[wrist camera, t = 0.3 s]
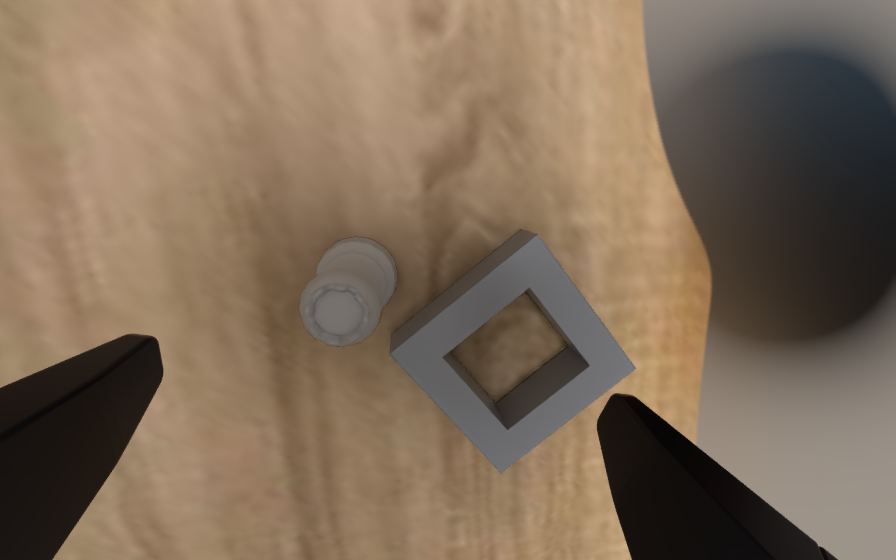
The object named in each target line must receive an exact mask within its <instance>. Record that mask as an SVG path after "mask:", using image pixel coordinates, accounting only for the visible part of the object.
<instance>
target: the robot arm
mask: <svg viewBox="0 0 896 560" xmlns="http://www.w3.org/2000/svg"><path fill="white" fill-rule="evenodd" d="M162 378H163V364H162V359H161V353H160V348H159V343H158V340H157V339H156V338H155V337H153V336H149V335H140V334H127V335H124V336H121V337H119V338H117V339H114V340H112V341H110V342H107V343H105V344H103V345H100V346H98V347H96V348H93V349H91V350H88V351H86V352H84V353H81V354H79V355H77V356H74V357H72V358H70V359H67V360H65V361H63V362H60V363H58V364H55V365H53V366H51V367H48V368H46V369H44V370H41V371H39V372H37V373H34V374H32V375H29V376H27V377H25V378H22V379H20V380H18V381H15V382H13V383H11V384H8V385H6V386H4V387H1V388H0V560H52V559H53V558H54V556H55V555H56V553H57V552H58V550H59V549H60V547H61V546H62V545H63V543H64V542H65V540H66V539H67V537H68V536H69V534H70V533H71V531H72V530H73V528H74V527H75V525H76V524H77V522H78V521H79V519H80V518H81V516H82V515H83V513H84V512H85V511H86V509H87V508H88V506H89V505H90V503H91V502H92V500H93V499H94V497H95V496H96V494H97V493H98V491H99V490H100V488H101V487H102V485H103V484H104V482H105V481H106V479H107V478H108V477H109V475H110V473H111V472H112V470H113V469H114V467H115V466H116V464H117V463H118V461H119V459H120V457H121V456H122V454H123V452H124V450H125V449H126V447H127V445H128V443H129V441H130V439H131V438H132V436H133V434H134V432H135V430H136V428H137V426H138V424H139V423H140V421H141V419H142V417H143V415H144V413H145V411H146V410H147V408H148V406H149V404H150V402H151V400H152V398H153V396H154V395H155V393H156V391H157V389H158V387H159V385H160V383H161V381H162ZM597 432H598V436H599V441H600V445H601V450H602V454H603V459H604V463H605V468H606V472H607V477H608V481H609V486H610V490H611V494H612V498H613V502H614V505H615V508H616V512H617V515H618V518H619V521H620V524H621V527H622V530H623V534H624V537H625V540H626V543H627V546H628V549H629V552H630V555H631V558H632V560H838V559H836V558H835V557H834V556H833V555H831V554H830V553H829V552H828V551H826V550H825V549H824V548H822V547H819V546H818V544H817V543H816V542H815V541H814V540H813V539H811V538H810V537H809V536H808V535H806V534H805V533H804V532H803V531H801V530H800V529H799V528H798V527H796V526H795V525H794V524H793V523H792V522H790V521H789V520H788V519H787V518H785V517H784V516H783V515H782V514H780V513H779V512H778V511H776V510H775V509H774V508H773V507H772V506H770V505H769V504H768V503H766V502H765V501H764V500H763V499H762V498H760V497H759V496H758V495H757V494H755V493H754V492H753V491H752V490H750V489H749V488H748V487H747V486H746V485H744V484H743V483H741V482H740V481H739V480H738V479H737V478H736V477H734V476H733V475H732V474H731V473H729V472H728V471H727V470H726V469H724V468H723V467H722V466H721V465H719V464H718V463H717V462H715V461H714V460H713V459H712V458H711V457H709V456H708V455H707V454H706V453H704V452H703V451H702V450H701V449H699V448H698V447H697V446H696V445H695V444H693V443H692V442H691V441H690V440H688V439H687V438H686V437H685V436H683V435H682V434H681V433H680V432H678V431H677V430H676V429H675V428H673V427H672V426H671V425H670V424H668V423H667V422H666V421H665V420H663V419H662V418H661V417H660V416H658V415H657V414H656V413H655V412H654V411H652V410H651V409H650V408H649V407H647V406H646V405H645V404H644V403H642V402H641V401H640V400H639V399H637V398H636V397H635V396H633V395H628V394H620V393H615V394H613V395H612V396H611V397H610V398H609V400H608V402H607V404H606V405H605V407H604V409H603V411H602V412H601V414H600V416H599V418H598V421H597Z"/></svg>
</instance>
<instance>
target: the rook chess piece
mask: <svg viewBox="0 0 896 560" xmlns="http://www.w3.org/2000/svg"><path fill="white" fill-rule="evenodd" d="M397 277H398V273H397V269H396V265H395V261H394V259H393V258H392V256H391V255H390V254H389V252H388V251H387V250H386V248H385V247H383V246H382V245H380V244H378V243H377V242H375V241H373V240H372V239H367V238H360V237H352V238H348V239H343V240H340V241H338V242H337V243H335V244H334V245H333V246H331V247H330V248H329V249H327V251H326V252H325V254H324V256H323V257H322V259H321V261H320V262H319V264H318V266H317V274H316V277H315V278H314V279H312V280H311V281H309V282H308V284H307V285H306V287H305V289H304V291H303V292H302V294H301V296H300V305H299V313H300V316H301V319H302V322H303V325H304V327H305V328H306V329H307V331H308V332H309V333H310V334H311V335H312V337H313V338H314V339H318V340H320V341H322V342H324V343H325V344H327V346H336V347H340V346H342V347H345V346H349V345H353V344H357V343H360V342H361V341H362V340H364V339H365V338H367V337H368V336H369V335H371V334H372V332H373V331H374V329H375V327H376V326H377V324H378V323H379V320H380V313H381V308H383V307H384V306H385V305H387V303H388V301H389V300H390V298H391V297H392V295H393V293H394V291H395V289H396V283H397Z"/></svg>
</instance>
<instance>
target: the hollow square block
mask: <svg viewBox="0 0 896 560" xmlns="http://www.w3.org/2000/svg"><path fill="white" fill-rule="evenodd" d="M525 291H526V292H527V293H528V294H529V296H530V297H531V298H532V300H533V301H534V302H535V303H536V305H537V306H538V307H539V309H540V310H541V311H542V312H543V314H544V315H545V316H546V318H547V319H548V320H549V321H550V323H551V324H552V325H553V327H554V328H555V329H556V330H557V332H558V333H559V334H560V336H561V337H562V338H563V339H564V341H565V342H566V343H567V345H568V347H567V348H565V349H564V350H563V351H562V352H560V353H559V354H558V355H557V356H555V357H554V358H553V359H551V360H550V361H549V362H548V363H546V364H545V365H544V366H543V367H541V368H540V369H539V370H537V371H536V372H535V373H534V374H532V375H531V376H530V377H529V378H527V379H526V380H525V381H523V382H522V383H521V384H520V385H518V386H517V387H516V388H515V389H513V390H512V391H511V392H509V393H508V394H507V395H506V396H504V397H503V398H502V399H501V400H499V401H498V402H497V403H495V402H494V401H493V400H492V399H491V398H490V397H489V395H488V394H487V393H486V392H485V391H484V390H483V389H482V387H481V386H480V385H479V384H478V383H477V382H476V381H475V380H474V378H473V377H472V376H471V375H470V374H469V373H468V372H467V370H466V369H465V368H464V367H463V366H462V365H461V364H460V363H459V361H458V360H457V359H456V358H455V357H454V356H453V355H452V353H451V352H450V351H451V350H452V349H453V348H455V347H456V346H457V345H458V344H460V343H461V342H462V341H463V340H465V339H466V338H467V337H468V336H470V335H471V334H472V333H473V332H475V331H476V330H477V329H478V328H480V327H481V326H482V325H483V324H485V323H486V322H487V321H488V320H490V319H491V318H492V317H493V316H495V315H496V314H497V313H498V312H500V311H501V310H502V309H503V308H505V307H506V306H507V305H508V304H510V303H511V302H512V301H513V300H515V299H516V298H517V297H518V296H520V295H521V294H522V293H523V292H525ZM390 355H391V356H392V357H393V359H394V360H395V361H396V362H397V363H398V364H399V365H400V366H401V367H402V368H403V369H404V370H405V371H406V372H407V374H408V375H409V376H410V377H411V378H412V379H413V380H414V381H415V382H416V383H417V384H418V385H419V386H420V387H421V389H422V390H423V391H424V392H425V393H426V394H427V395H428V396H429V397H430V398H431V399H432V400H433V401H434V402H435V404H436V405H437V406H438V407H439V408H440V409H441V410H442V411H443V412H444V413H445V414H446V415H447V416H448V417H449V418H450V420H451V421H452V422H453V423H454V424H455V425H456V426H457V427H458V428H459V429H460V430H461V431H462V432H463V433H464V435H465V436H466V437H467V438H468V439H469V440H470V441H471V442H472V443H473V444H474V445H475V446H476V447H477V448H478V450H479V451H480V452H481V453H482V454H483V455H484V456H485V457H486V458H487V459H488V460H489V461H490V462H491V463H492V465H493V466H494V467H495V468H496V469H497V470H498V471H499V472H500V473H502V472H503V471H505V470H506V469H507V468H508V467H510V466H511V465H512V464H514V463H515V462H516V461H517V460H519V459H520V458H521V457H523V456H524V455H525V454H527V453H528V452H529V451H530V450H532V449H533V448H534V447H536V446H537V445H538V444H539V443H541V442H542V441H543V440H545V439H546V438H547V437H548V436H550V435H551V434H552V433H554V432H555V431H556V430H558V429H559V428H560V427H561V426H563V425H564V424H565V423H567V422H568V421H569V420H570V419H572V418H573V417H574V416H576V415H577V414H578V413H579V412H581V411H582V410H583V409H585V408H586V407H587V406H589V405H590V404H591V403H592V402H594V401H595V400H596V399H598V398H599V397H600V396H601V395H603V394H604V393H605V392H607V391H608V390H609V389H610V388H612V387H613V386H614V385H616V384H617V383H618V382H620V381H621V380H622V379H623V378H625V377H626V376H627V375H629V374H630V373H631V372H632V371H634V370H635V369H636V368H635V366H634V365H633V363H632V362H631V361H630V359H629V358H628V357H627V355H626V354H625V353H624V351H623V350H622V348H621V347H620V346H619V344H618V343H617V342H616V340H615V339H614V338H613V336H612V335H611V333H610V332H609V331H608V329H607V328H606V327H605V325H604V324H603V323H602V321H601V320H600V318H599V317H598V316H597V314H596V313H595V312H594V310H593V309H592V308H591V306H590V305H589V303H588V302H587V301H586V299H585V298H584V297H583V295H582V294H581V293H580V291H579V290H578V288H577V287H576V286H575V284H574V283H573V282H572V280H571V279H570V278H569V276H568V275H567V273H566V272H565V271H564V269H563V268H562V267H561V265H560V264H559V263H558V261H557V260H556V258H555V257H554V256H553V254H552V253H551V252H550V250H549V249H548V248H547V246H546V245H545V243H544V242H543V241H542V239H541V238H540V237H539V235H538V234H535V233H531V232H528V231H525V230H522V229H521V230H520V231H518V232H517V233H516V234H515V235H513V236H512V237H511V238H510V239H508V240H507V241H506V242H505V243H503V244H502V245H501V246H500V247H499V248H497V249H496V250H495V251H494V252H492V253H491V254H490V255H489V256H487V257H486V258H485V259H484V260H483V261H481V262H480V263H479V264H478V265H476V266H475V267H474V268H473V269H471V270H470V271H469V272H468V273H466V274H465V275H464V276H463V277H462V278H460V279H459V280H458V281H457V282H455V283H454V284H453V285H452V286H450V287H449V288H448V289H447V290H446V291H444V292H443V293H442V294H441V295H439V296H438V297H437V298H436V299H434V300H433V301H432V302H431V303H429V304H428V305H427V306H426V307H425V308H423V309H422V310H421V311H420V312H418V313H417V314H416V315H415V316H413V317H412V318H411V319H410V320H409V321H407V322H406V323H405V324H404V325H402V326H401V327H400V328H399V329H397V330H396V331H395V332H394V333H392V334H391V342H390Z"/></svg>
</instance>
